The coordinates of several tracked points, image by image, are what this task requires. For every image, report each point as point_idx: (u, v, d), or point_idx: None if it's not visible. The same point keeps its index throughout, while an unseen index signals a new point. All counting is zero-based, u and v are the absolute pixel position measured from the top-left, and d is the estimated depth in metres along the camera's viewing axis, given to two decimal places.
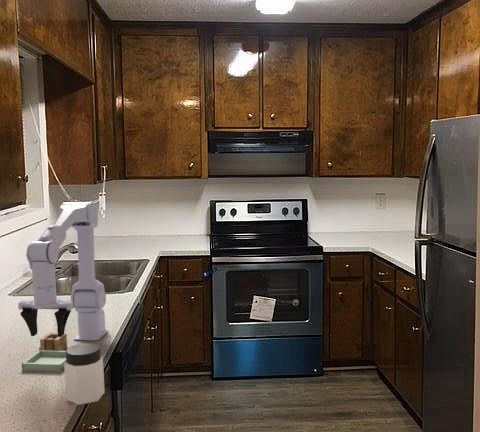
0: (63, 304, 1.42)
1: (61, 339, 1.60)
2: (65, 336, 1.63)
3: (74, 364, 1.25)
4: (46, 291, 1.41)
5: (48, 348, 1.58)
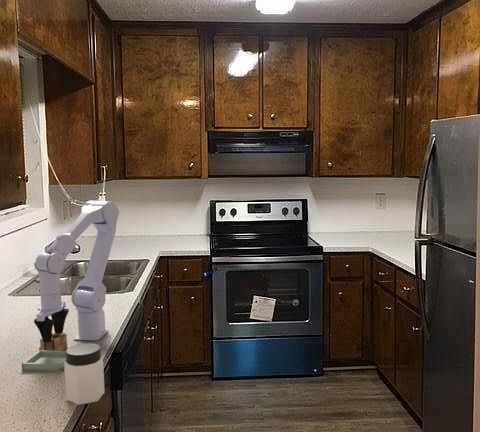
0: (38, 313, 1.55)
1: (61, 339, 1.60)
2: (65, 336, 1.63)
3: (74, 364, 1.25)
4: None
5: (48, 348, 1.58)
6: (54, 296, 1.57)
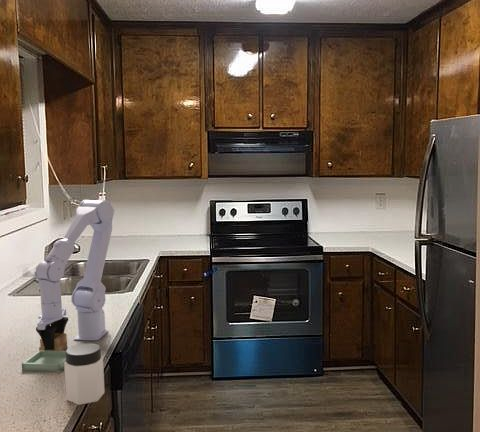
0: (39, 322, 1.55)
1: (61, 339, 1.60)
2: (65, 336, 1.63)
3: (74, 364, 1.25)
4: (41, 305, 1.58)
5: None
6: (55, 304, 1.58)
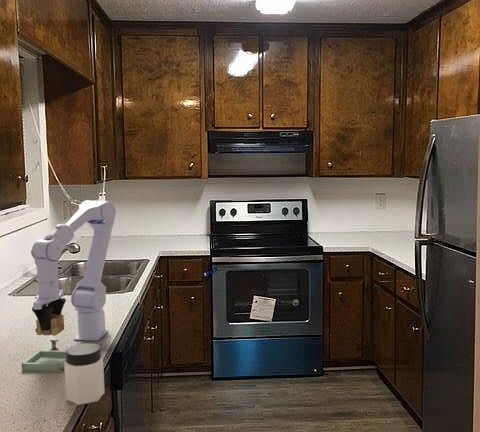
0: None
1: (58, 320, 1.56)
2: (62, 317, 1.59)
3: (74, 364, 1.25)
4: None
5: None
6: (51, 284, 1.54)
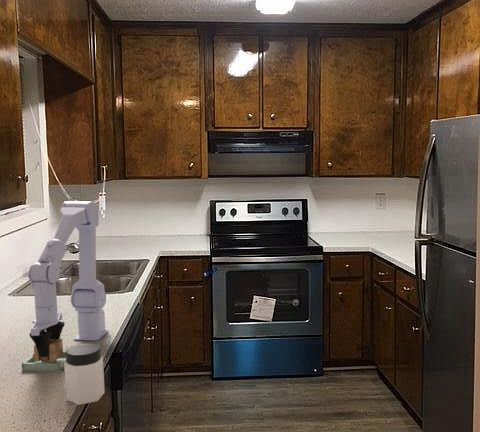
0: None
1: (56, 345, 1.50)
2: (61, 342, 1.52)
3: (74, 364, 1.25)
4: (35, 309, 1.48)
5: None
6: (50, 308, 1.47)
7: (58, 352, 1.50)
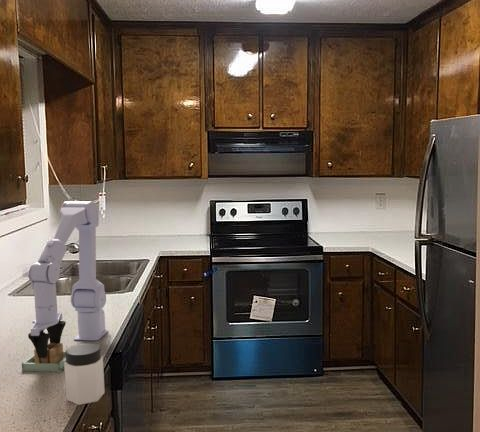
0: None
1: (57, 349, 1.50)
2: (61, 346, 1.52)
3: (74, 364, 1.25)
4: (35, 309, 1.48)
5: (43, 359, 1.48)
6: (50, 308, 1.47)
7: (58, 356, 1.51)
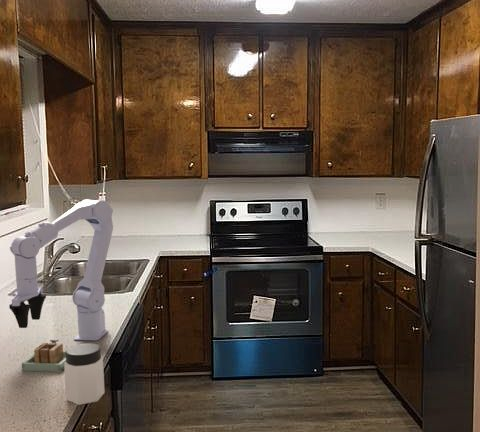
0: None
1: (57, 349, 1.50)
2: (61, 346, 1.52)
3: (74, 364, 1.25)
4: (16, 282, 1.55)
5: (43, 359, 1.48)
6: (30, 281, 1.54)
7: (58, 356, 1.51)
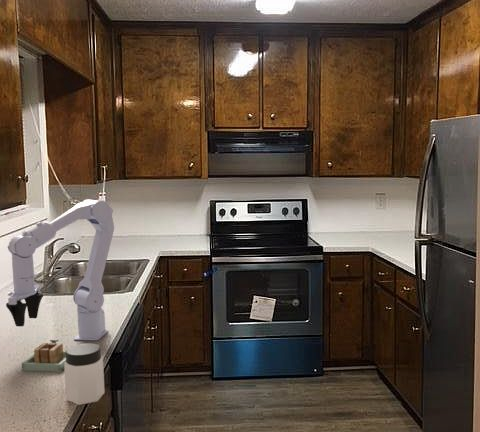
0: None
1: (57, 349, 1.50)
2: (61, 346, 1.52)
3: (74, 364, 1.25)
4: (13, 281, 1.56)
5: (43, 359, 1.48)
6: (27, 280, 1.56)
7: (58, 356, 1.51)
